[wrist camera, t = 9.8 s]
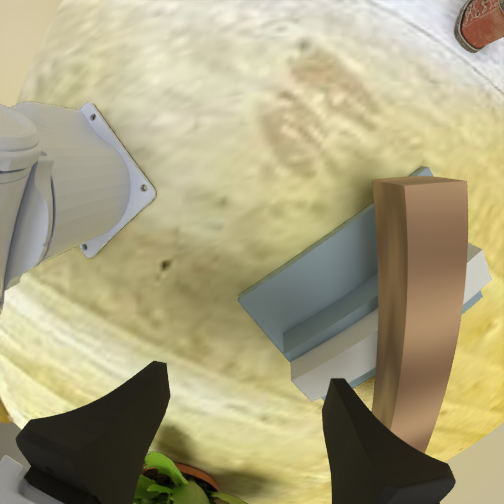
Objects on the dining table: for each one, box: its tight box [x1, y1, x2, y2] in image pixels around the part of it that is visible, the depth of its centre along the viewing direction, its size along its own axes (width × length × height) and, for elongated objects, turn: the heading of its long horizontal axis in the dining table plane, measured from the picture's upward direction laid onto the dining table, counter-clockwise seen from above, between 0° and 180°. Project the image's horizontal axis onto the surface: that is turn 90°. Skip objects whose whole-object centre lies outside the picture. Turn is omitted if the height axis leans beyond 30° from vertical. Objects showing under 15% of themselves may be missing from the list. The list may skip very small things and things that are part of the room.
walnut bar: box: [372, 176, 468, 453], centre depth 14 cm, size 18×3×4 cm, turn 9°
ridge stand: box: [238, 167, 492, 402], centre depth 18 cm, size 16×12×6 cm
